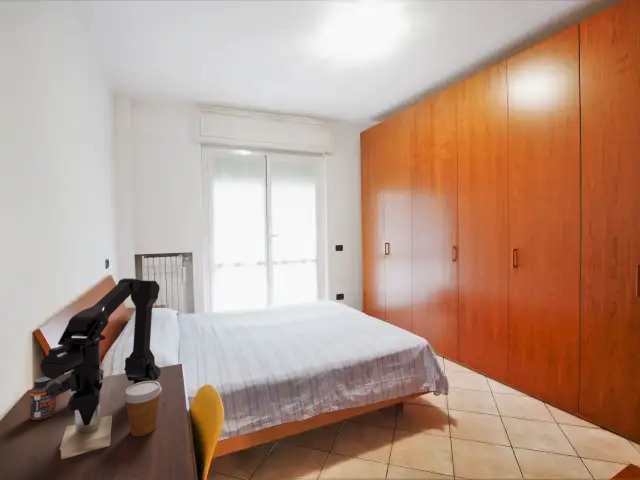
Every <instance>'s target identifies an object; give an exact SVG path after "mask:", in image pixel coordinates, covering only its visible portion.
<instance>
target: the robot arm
mask: <svg viewBox="0 0 640 480" xmlns="http://www.w3.org/2000/svg"><path fill="white" fill-rule="evenodd" d="M159 293H160V285H159V283H158V282H157V281H156V280H147V279H146V280H142V279H141V280H140V279H137V278H133V277H132V278H126V277H125V278H121V279H119V280H118V283H117V284H116V285H115V286H114V287H113V288H111V290H110V291H108V292H107V293H106V294H105V295H104V296H103V297H102V298H101V299H100V300H98V302H96V303H95V304H94V305H92V306H91V307H87V308H85V309H81V311H78V313H76V314H74V315H73V316H72V317H71V318H70V319H69V320H68V324H66V328H65V329H64V331H63V333H62V334H61V337H60V339H59V340H58V342H57V345H58V346H57V347H52V348H49V349H48V354H47V355H46V356H45V357H43V359H42V360H41V363H40V371H41V373H42V374H43V376H44V377H47V378H50V379H52V380H51V381H50V382H48V383H47V385H46V387H45V391H46V396H49V397H50V399H53V398H55V397H56V398H57V396H60V395H62V394H64V393H66V392H68V391H70V389H71V392H72V391H76V393H74V394H73V395H72V396H71V397H70V396H69V399H68V402H67V412H69V413H70V412H75V410H79V413H80V415H81V418H82V421H83V423H84V425H85V426H86V425H89V424H90V422H91V419H92V417H93V415H94V412H95V410H96V408H97V405H98V404H99V402H100V403H101V396H100V394H101V389H102V387H103V381H104V376H105V375H104V370H103V369H102V368H101V364H102V361H101V341H104V340H106V338H107V337H106V336H105V335H103V334H102V333H103V331H104V330H105V328H106V327H107V326H108V325H109V319H110V317H111V315H112V314H113V313H114V312H115V311H116V310H117V309H118V308H119V307H120V306H121V305H122V304H123V303H124V302H125V301H126V300H127V299H128V298H130V300H131V301H132V303H133V305H134V307H135V310H134V311H135V313H134V314H135V315H134V330H133V342H132V344H133V347H132V352H130V354H129V356H128V357H127V356H126V358H125V360H124V363H125V364H124V369H123V371H124V374H125V376H126V378H127V381H128V382H133V383H131V386H132V385H134V384H136V383H139V382H144V381H156V380H158V379H159V377H160V376H161V372H162V371H161V368H160V367H158V366H157V365H156V362H155V361H156V360H155V355H154V354H153V352H152V350H151V334H152V319H153V318H152V317H153V306H154V304H155V303H156V301H157V300H158V298H159ZM71 370H72V371H71ZM70 371H71V372H70Z"/></svg>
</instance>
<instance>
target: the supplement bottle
mask: <svg viewBox="0 0 640 480" xmlns="http://www.w3.org/2000/svg"><path fill="white" fill-rule="evenodd" d="M51 380H53V379H50V378H47V377H46V376H43V377H39V378H37V379H35V380H34V384H33V385H34V386H33V387H31V389H30V391H29V396H30V397H29V406H30V407H29V409H30V410H29V416H30V419H31V420H32V421H42V420H45V419H47V418H50V417H52V416H53V415H54V414H55V413H56V409H57V404H56V403H57V402H56V401H57V397H55V398H53V399H50V397H49V396H46V391H45V387H46V385H47V383H48V382H50V381H51Z"/></svg>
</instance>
